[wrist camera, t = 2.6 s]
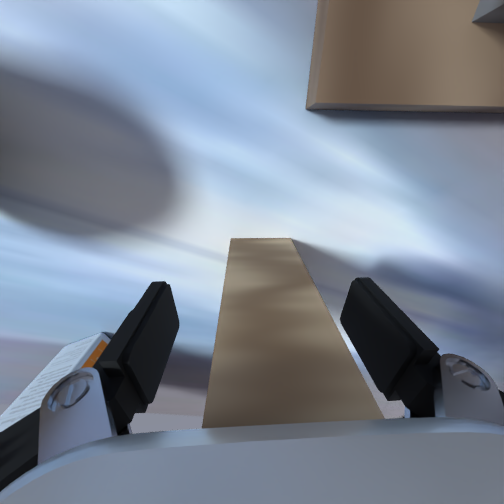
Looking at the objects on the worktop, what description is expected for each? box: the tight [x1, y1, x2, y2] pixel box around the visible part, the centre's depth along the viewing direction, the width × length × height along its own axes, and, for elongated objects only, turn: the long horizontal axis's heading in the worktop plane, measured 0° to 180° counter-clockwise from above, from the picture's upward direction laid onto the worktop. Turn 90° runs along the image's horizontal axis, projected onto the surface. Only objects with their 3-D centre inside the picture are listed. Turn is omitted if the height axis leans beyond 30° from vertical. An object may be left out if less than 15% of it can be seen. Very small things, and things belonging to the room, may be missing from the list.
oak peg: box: [202, 238, 385, 429], centre depth 9 cm, size 4×4×10 cm
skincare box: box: [0, 332, 111, 432], centre depth 13 cm, size 6×4×12 cm
